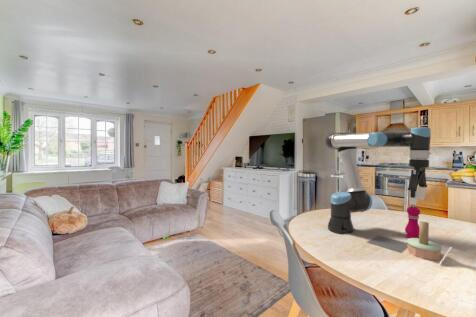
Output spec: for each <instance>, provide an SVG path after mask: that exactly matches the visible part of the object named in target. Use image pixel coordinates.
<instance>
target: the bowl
mask: <svg viewBox="0 0 476 317" xmlns="http://www.w3.org/2000/svg"><path fill="white" fill-rule="evenodd" d="M406 243H407V242H406ZM406 249H407V252H408V254H410V255H412V256H413V257H416V258H418V259H419V258H420V259H423V260H427V261H438V260H440V259H441V257H442V256H441V255H442V254H441V253H442V250H440V251H427V250H422V249H419V248H415V247H413V246H411V245H409V244H408V243H407V248H406Z"/></svg>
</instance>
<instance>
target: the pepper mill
mask: <svg viewBox="0 0 476 317" xmlns="http://www.w3.org/2000/svg"><path fill="white" fill-rule="evenodd" d="M406 213H407V218H408V222H407V224H406V226H405V229H404V232H405V233H406V234H405V237H406V239H409V238H419V225H420V224H419V222H418V221H419V219H420V215H421V210H420V208H418V207H416V205H414V204H411V206H409V207H407V209H406Z"/></svg>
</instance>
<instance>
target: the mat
mask: <svg viewBox="0 0 476 317" xmlns="http://www.w3.org/2000/svg"><path fill="white" fill-rule="evenodd" d="M366 244H370V245H373V246H377V247H380V248H384V249H386V250H390V251H394V252H396V253H398V254H400V253H401V254H402V253H403V252H404V251H405V250H406V249H407V242H404V241H401V240H398V239H393V238H390V237H387V236H383V235H378V234H377V235H376V236H374V237H372V238H371V239H370V240H367V241H366Z"/></svg>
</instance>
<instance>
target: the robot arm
mask: <svg viewBox="0 0 476 317" xmlns="http://www.w3.org/2000/svg"><path fill="white" fill-rule="evenodd" d="M431 136H432V134H431V128H430V127H429V126H418V127H417V126H416V127H411V129H410V131H402V132H398V131H397V132H394V131H393V132H392V131H388V132H387V131H386V132H385V131H374V132H365V133H364V132H363V133H362V132H360V133H353V132H347V131H346V132H331V133H329V134H327V135H326V136H325V138H324V144H325V146H326V148H328V149H331V150H337V154H338V155H340V156H341V160H342V161H341V162H342V166H343V171H344V172H343V173H344V176H345V181H346V186H347V190H346V191H343V192H340V191H339V192H334V193H332V194H331V197H330V218H329V221H328V223H327V229H328V230H329V231H331V232H332V233H335V234H339V235H346V234H352V233H354V231H355V228H354V225H353V224H354V223H353V222H352V213H353V214H354V213H363V212H368V211H369V210H370V209H371V208H372V206H373V198H372V196H371V195H370V194H369V193H367V191H366V189H365V188H363V184H362V180H361V176H360V170H359V167H358V162H357V156H356V151H357V150H358V149H357V148H359V147H360V148H363V147H371V148H372V147H373V148H384V147H387V148H390V147H391V148H393V147H395V148H398V147H399V148H402V147H404V148H405V147H407V148H409V155H408V156H409V158H408V159H409V161H408V166H409V167H410V168H413V169H411V170H410V172H411V173H410V179H409V184H408V188H407V191H409V200H408V201H409V202H408V204H409V205H412V204H414V205H415V206H417V205H418V204H417V203H418V201H419V200H422V201H425V194H426V191H425V190H426V188H428V185H427V177H426V168H429V167H430V160H429V159H430V155H431V154H432V152H430V151H431V150H430V148H431V147H430V146H431V139H432V137H431Z"/></svg>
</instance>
